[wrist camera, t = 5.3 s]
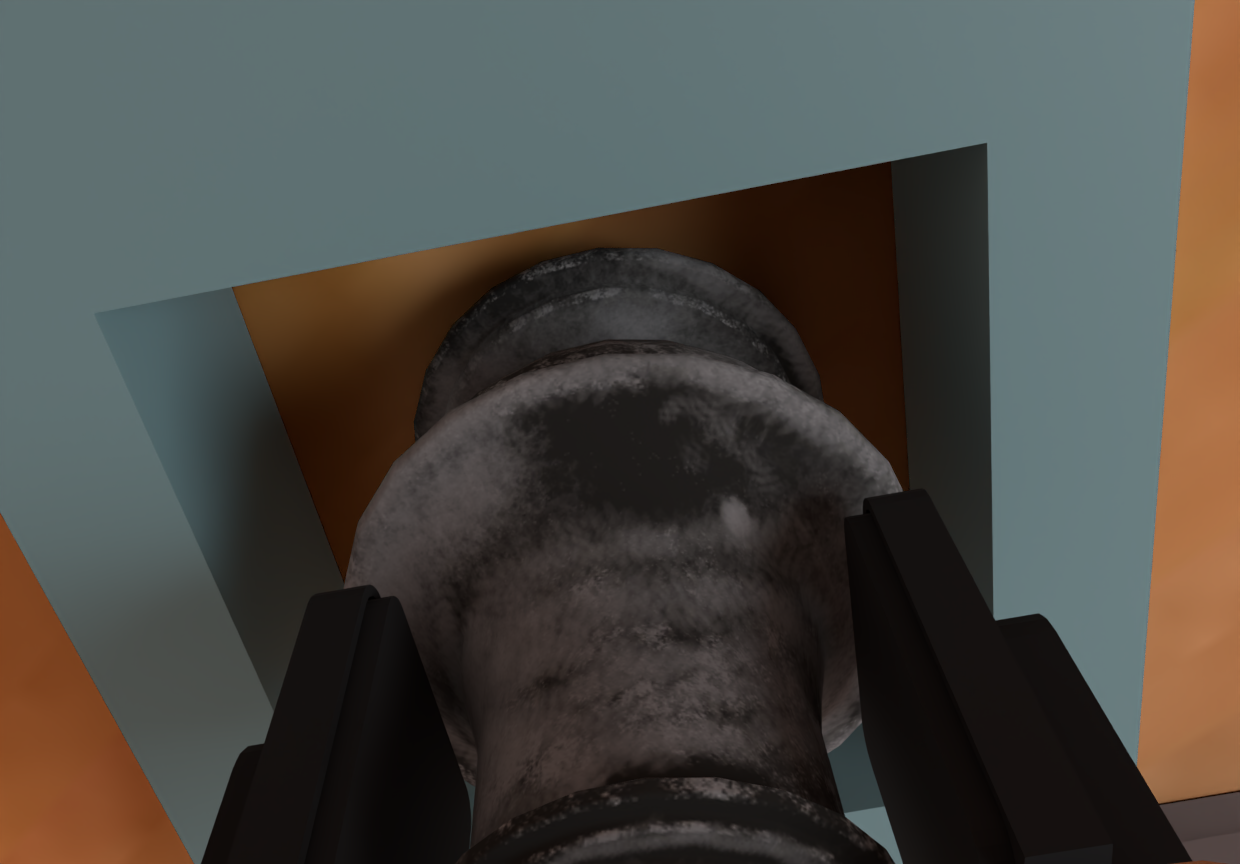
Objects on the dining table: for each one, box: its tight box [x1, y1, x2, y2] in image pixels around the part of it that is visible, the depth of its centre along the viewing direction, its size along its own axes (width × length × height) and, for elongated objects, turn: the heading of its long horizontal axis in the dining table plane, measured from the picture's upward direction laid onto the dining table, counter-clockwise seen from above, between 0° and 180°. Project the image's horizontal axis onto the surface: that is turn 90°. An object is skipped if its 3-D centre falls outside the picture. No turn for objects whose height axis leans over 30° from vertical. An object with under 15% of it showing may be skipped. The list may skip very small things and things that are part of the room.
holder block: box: [0, 0, 1195, 864], centre depth 14 cm, size 16×12×4 cm
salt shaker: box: [344, 248, 903, 864], centre depth 9 cm, size 6×6×12 cm
